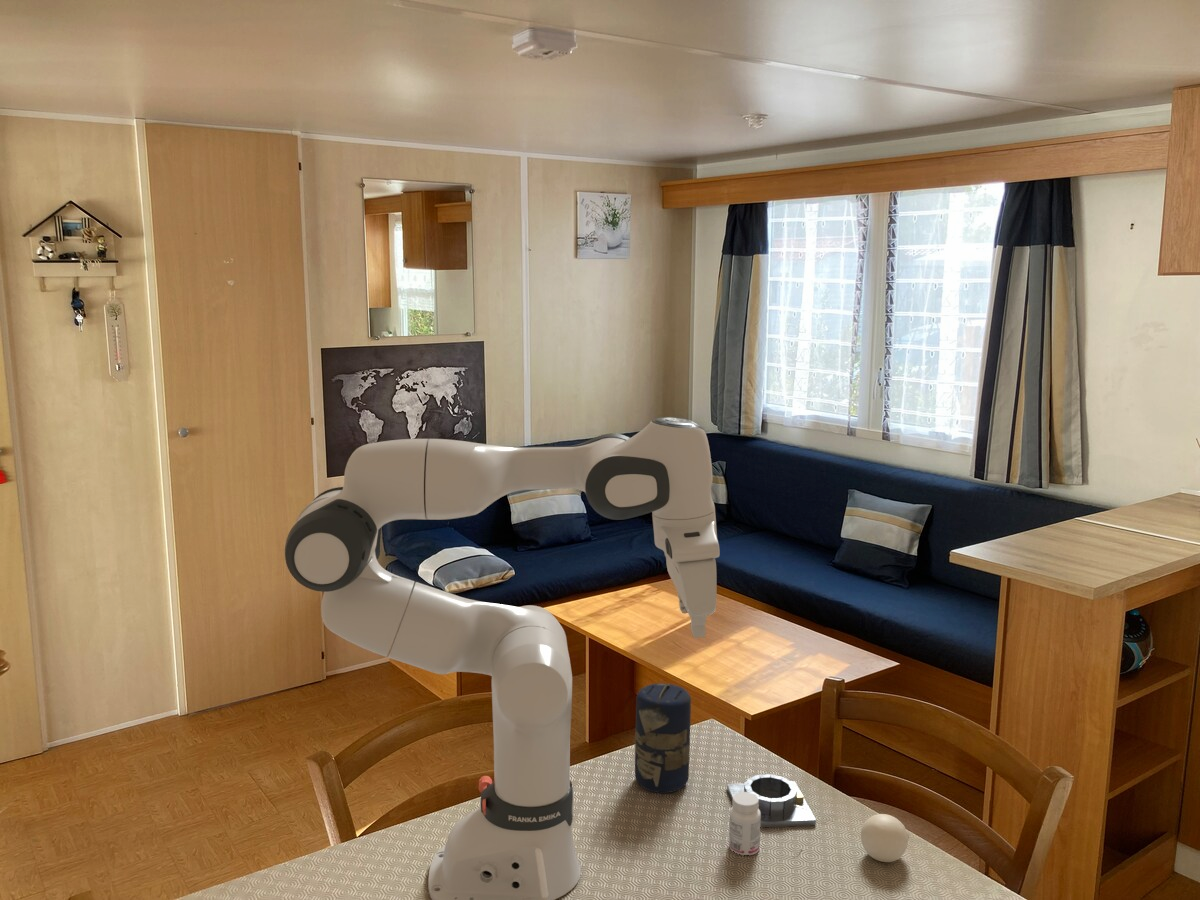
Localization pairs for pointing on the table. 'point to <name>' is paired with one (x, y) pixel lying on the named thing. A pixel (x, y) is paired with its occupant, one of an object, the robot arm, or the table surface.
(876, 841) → the beige sphere
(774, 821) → the lock socket
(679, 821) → the table surface
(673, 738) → the canister
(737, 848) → the pill bottle
